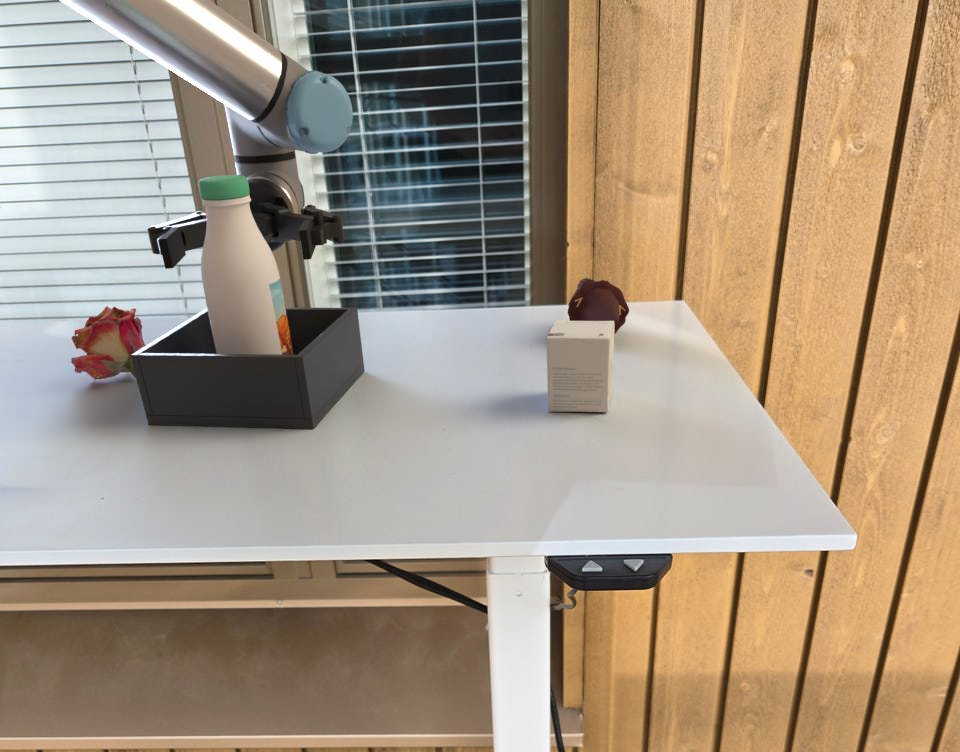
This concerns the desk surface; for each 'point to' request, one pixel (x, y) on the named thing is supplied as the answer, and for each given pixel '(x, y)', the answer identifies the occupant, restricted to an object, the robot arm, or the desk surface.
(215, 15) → the robot arm
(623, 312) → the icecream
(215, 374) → the black open box
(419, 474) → the desk surface
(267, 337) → the milk bottle
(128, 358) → the flower
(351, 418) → the desk surface
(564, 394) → the white cardboard box
